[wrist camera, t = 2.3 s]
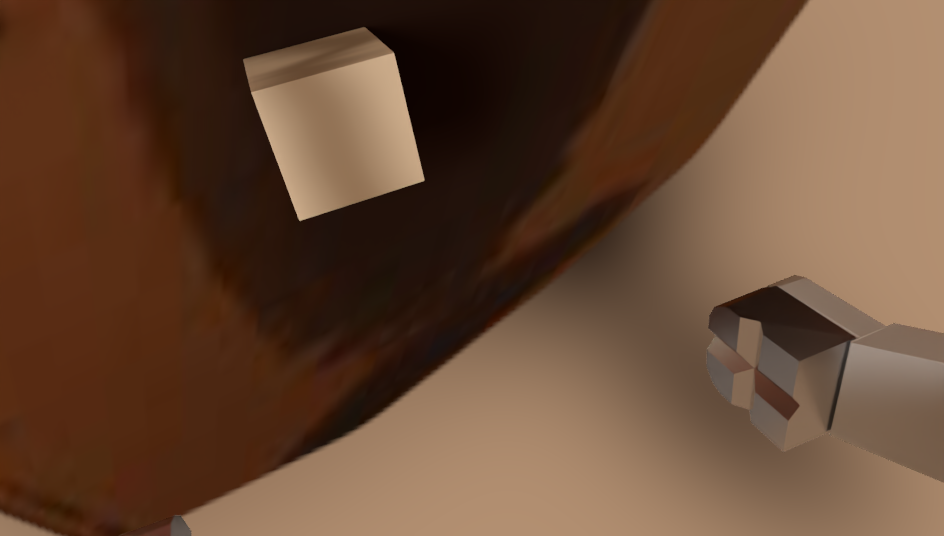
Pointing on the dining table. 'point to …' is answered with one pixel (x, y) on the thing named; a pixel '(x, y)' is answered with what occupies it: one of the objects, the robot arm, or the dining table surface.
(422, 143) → the dining table surface
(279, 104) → the cube
